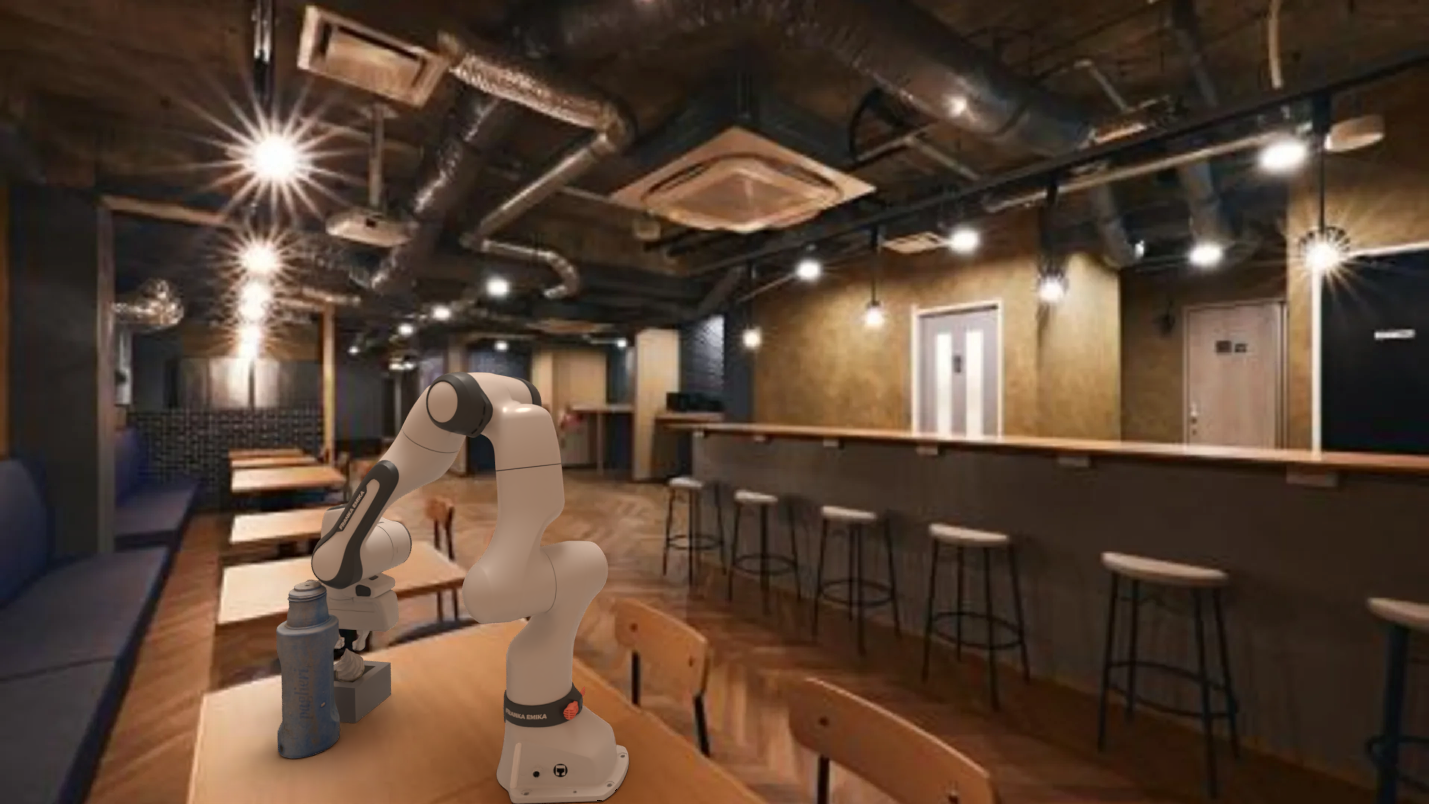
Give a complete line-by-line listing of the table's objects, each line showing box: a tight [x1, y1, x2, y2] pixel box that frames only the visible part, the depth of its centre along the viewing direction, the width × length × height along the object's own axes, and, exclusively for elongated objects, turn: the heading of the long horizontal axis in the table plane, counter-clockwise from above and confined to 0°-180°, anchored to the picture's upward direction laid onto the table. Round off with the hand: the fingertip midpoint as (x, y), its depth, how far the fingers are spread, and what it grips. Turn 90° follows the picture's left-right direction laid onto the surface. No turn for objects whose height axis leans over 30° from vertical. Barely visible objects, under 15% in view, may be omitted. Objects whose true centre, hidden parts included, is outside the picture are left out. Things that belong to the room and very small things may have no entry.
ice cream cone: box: [336, 647, 364, 682], centre depth 129 cm, size 5×5×15 cm
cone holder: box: [334, 659, 392, 724], centre depth 131 cm, size 11×11×7 cm
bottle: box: [275, 581, 341, 759], centre depth 117 cm, size 10×10×30 cm
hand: (348, 648), depth 130 cm, fingers open, 3 cm apart
